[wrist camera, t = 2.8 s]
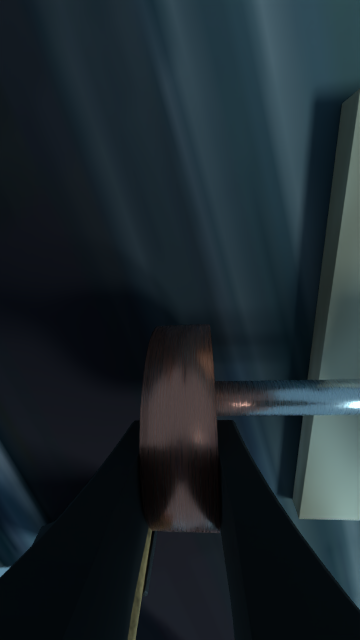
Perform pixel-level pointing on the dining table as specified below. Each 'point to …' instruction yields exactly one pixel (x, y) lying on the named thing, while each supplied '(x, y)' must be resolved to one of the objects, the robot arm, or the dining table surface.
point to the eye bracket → (336, 344)
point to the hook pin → (207, 423)
